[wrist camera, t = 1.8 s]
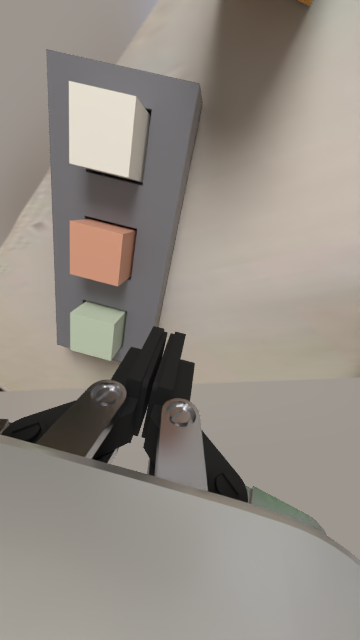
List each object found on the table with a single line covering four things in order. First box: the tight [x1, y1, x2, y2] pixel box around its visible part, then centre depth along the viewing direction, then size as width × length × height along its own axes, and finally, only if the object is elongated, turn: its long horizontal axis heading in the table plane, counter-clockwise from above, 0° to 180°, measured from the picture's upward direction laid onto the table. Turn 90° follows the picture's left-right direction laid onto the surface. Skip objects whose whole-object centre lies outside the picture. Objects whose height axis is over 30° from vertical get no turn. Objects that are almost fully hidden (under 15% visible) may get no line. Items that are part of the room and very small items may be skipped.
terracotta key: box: [70, 219, 137, 286], centre depth 27 cm, size 6×6×5 cm
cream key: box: [69, 81, 151, 183], centre depth 22 cm, size 6×6×5 cm
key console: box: [46, 49, 202, 362], centre depth 29 cm, size 14×32×4 cm, turn 167°
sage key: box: [70, 301, 127, 361], centre depth 31 cm, size 6×6×5 cm
